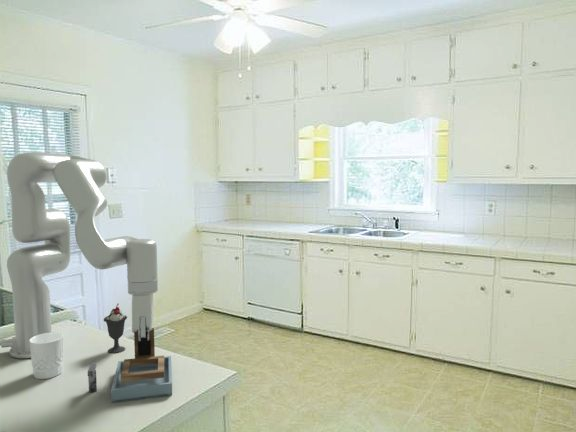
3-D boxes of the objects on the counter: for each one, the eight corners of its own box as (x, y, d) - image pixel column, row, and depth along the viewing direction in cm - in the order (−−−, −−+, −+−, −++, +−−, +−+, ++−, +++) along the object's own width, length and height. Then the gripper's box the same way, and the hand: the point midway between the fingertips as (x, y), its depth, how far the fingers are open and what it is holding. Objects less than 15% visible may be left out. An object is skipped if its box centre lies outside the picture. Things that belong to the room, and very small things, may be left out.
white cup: (71, 369, 119) (69, 334, 118) (46, 382, 111) (45, 345, 110) (49, 365, 121) (47, 330, 120) (24, 377, 114) (22, 341, 113)
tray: (111, 402, 102) (111, 390, 102) (118, 372, 118) (118, 361, 117) (172, 395, 106) (171, 383, 105) (171, 366, 121) (171, 356, 121)
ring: (125, 361, 116) (124, 330, 115) (164, 357, 118) (163, 326, 118) (120, 382, 104) (119, 348, 103) (164, 377, 106) (163, 344, 106)
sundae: (120, 355, 128) (118, 306, 127) (100, 353, 130) (98, 304, 128) (132, 346, 135) (131, 299, 133) (113, 344, 136) (111, 298, 135)
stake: (87, 396, 105) (86, 371, 104) (90, 386, 110) (89, 362, 109) (95, 395, 105) (94, 370, 105) (98, 385, 110) (97, 362, 109)
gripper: (130, 280, 121) (132, 343, 123) (125, 294, 106) (127, 367, 108) (158, 278, 123) (159, 341, 125) (157, 292, 108) (159, 363, 110)
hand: (144, 352), depth 116 cm, fingers closed on ring, 1 cm apart
